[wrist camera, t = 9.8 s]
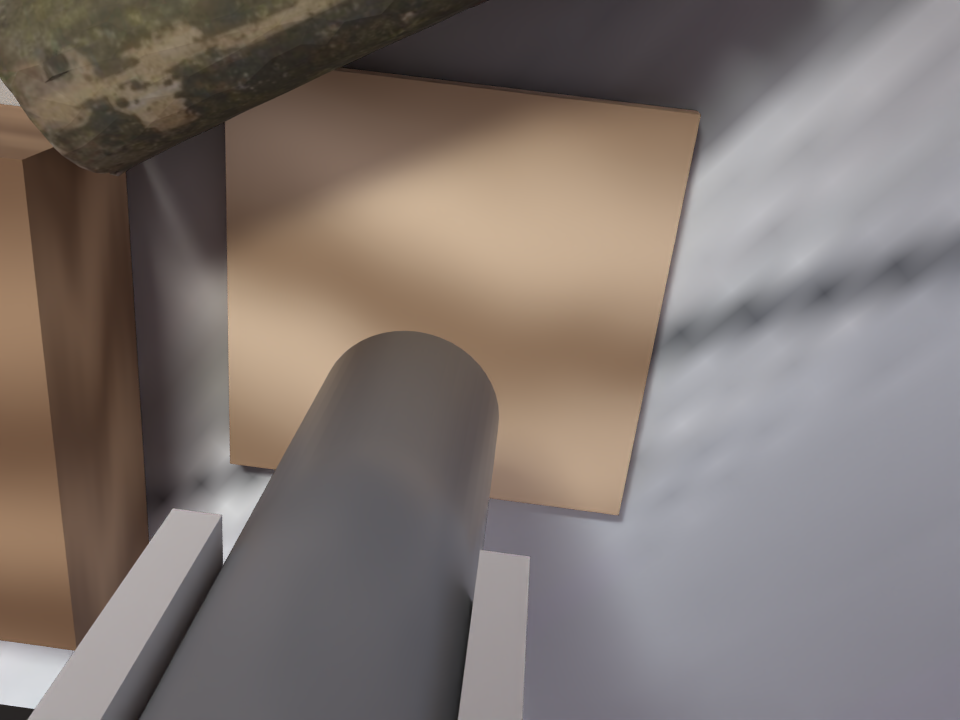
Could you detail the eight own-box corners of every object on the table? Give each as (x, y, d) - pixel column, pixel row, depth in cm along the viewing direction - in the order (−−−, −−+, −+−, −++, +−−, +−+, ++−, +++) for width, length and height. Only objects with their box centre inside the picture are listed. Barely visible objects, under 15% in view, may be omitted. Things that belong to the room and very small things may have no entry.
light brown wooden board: (231, 54, 23) (224, 57, 23) (697, 110, 23) (700, 114, 22) (236, 453, 28) (230, 463, 28) (617, 504, 28) (618, 515, 27)
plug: (325, 318, 19) (-119, 1011, 7) (510, 345, 19) (419, 1098, 7) (317, 476, 21) (-51, 1275, 8) (487, 501, 21) (379, 1347, 8)
